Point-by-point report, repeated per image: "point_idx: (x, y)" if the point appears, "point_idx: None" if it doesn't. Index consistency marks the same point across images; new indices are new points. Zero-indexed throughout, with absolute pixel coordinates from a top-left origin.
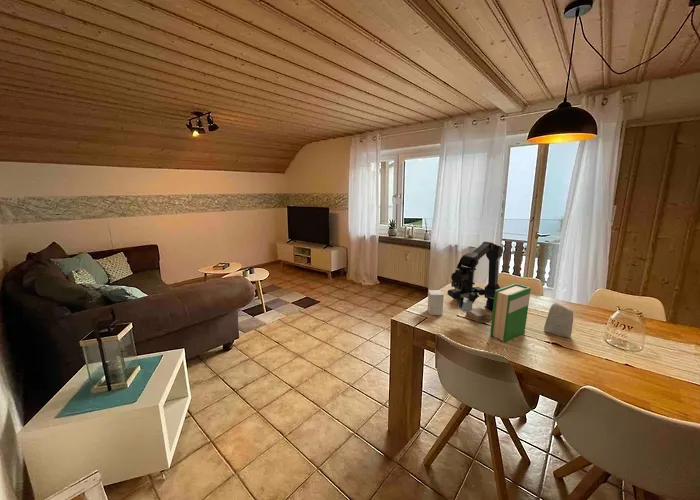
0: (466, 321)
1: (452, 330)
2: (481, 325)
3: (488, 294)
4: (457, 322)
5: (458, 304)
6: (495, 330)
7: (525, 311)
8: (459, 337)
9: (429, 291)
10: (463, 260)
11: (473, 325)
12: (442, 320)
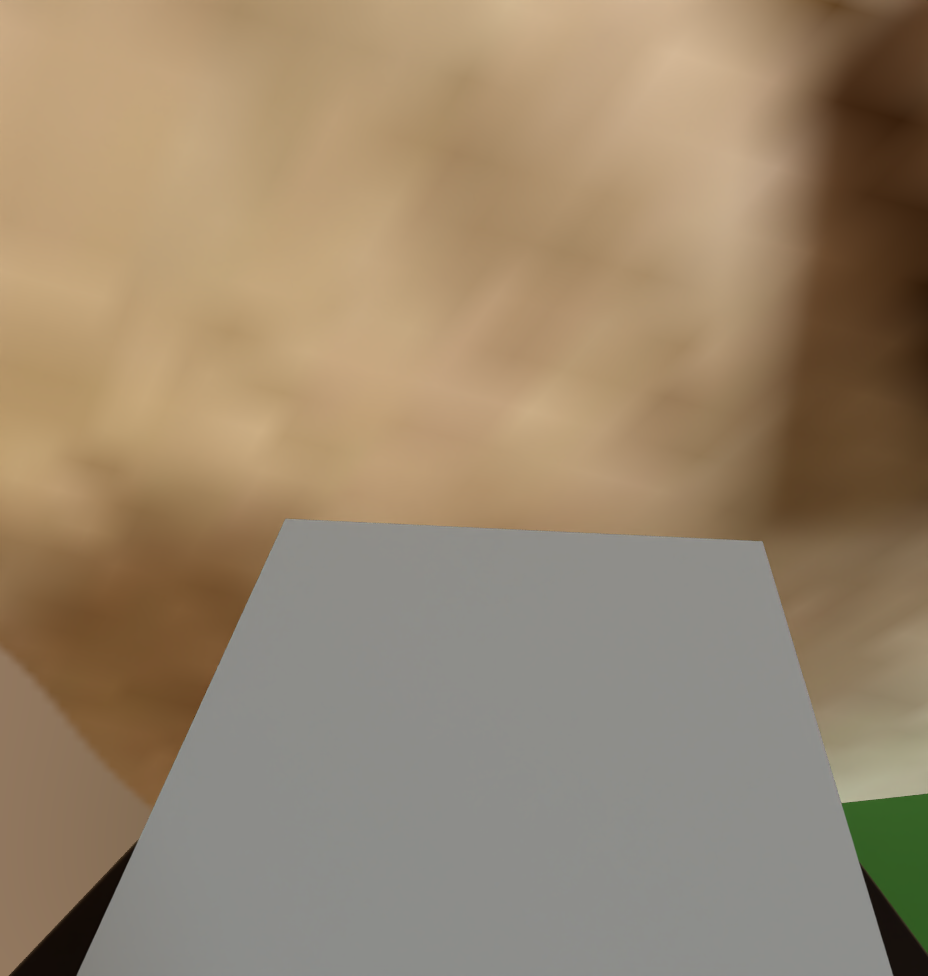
0: (700, 299)
1: (129, 544)
2: (882, 556)
3: None
4: (415, 282)
5: (224, 698)
6: None
7: None
8: (167, 724)
9: None
10: None
11: (703, 509)
12: (22, 42)
